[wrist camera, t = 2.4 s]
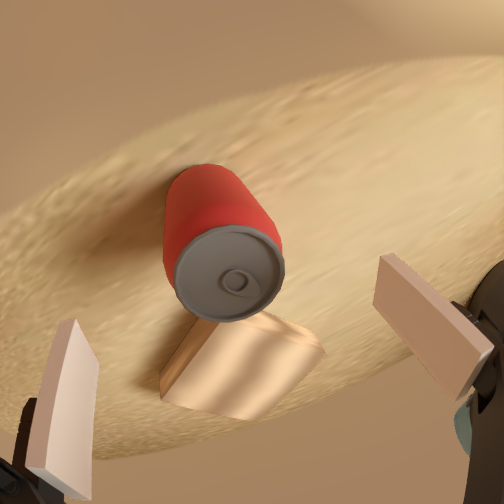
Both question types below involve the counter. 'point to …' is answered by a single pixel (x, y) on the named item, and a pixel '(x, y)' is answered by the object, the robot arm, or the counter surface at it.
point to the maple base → (239, 365)
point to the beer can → (220, 246)
